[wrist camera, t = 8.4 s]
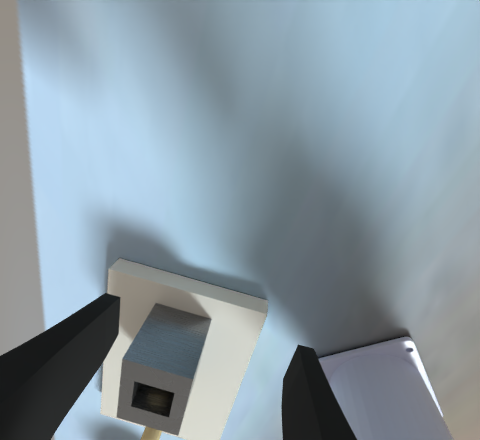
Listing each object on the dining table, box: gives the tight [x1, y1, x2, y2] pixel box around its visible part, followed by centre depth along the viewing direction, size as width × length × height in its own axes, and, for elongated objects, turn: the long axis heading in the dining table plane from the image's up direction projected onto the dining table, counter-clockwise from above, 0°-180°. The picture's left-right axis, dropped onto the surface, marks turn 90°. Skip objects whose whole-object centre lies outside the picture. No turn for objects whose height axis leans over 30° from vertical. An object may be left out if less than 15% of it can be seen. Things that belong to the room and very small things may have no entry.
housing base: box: [101, 258, 268, 440], centre depth 23 cm, size 18×12×5 cm, turn 166°
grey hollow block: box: [117, 303, 212, 436], centre depth 20 cm, size 6×4×5 cm
